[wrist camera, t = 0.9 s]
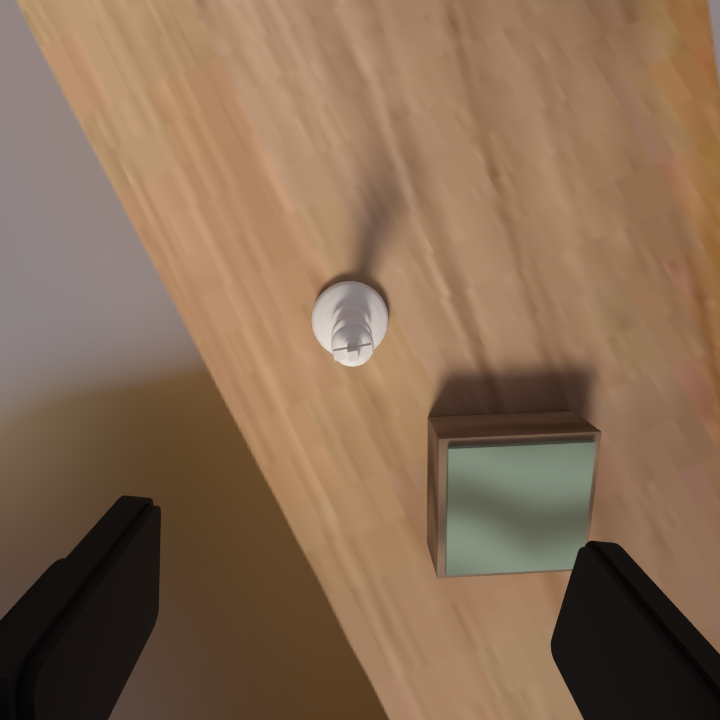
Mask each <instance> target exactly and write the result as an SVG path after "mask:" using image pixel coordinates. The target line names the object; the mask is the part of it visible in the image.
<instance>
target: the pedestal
mask: <svg viewBox="0 0 720 720" xmlns="http://www.w3.org/2000/svg"><path fill="white" fill-rule="evenodd" d="M600 438H601V431H600V430H598V429H597V428H595V427H594V426H593V425H591V424H590V423H588V422H587V421H586V420H584V419H583V418H581V417H580V416H578V415H577V414H576V413H574V412H573V411H550V412H528V413H505V414H483V415H460V416H438V417H428V490H427V544H428V548H429V551H430V555H431V558H432V562H433V565H434V569H435V572H436V576H437V578H452V577H470V576H489V575H507V574H525V573H544V572H562V571H572V570H573V566H574V563H575V560H576V557H577V553H578V551H579V549H580V548H581V547H585V545H586V543H587V542H589V537H590V528H591V519H592V510H593V501H594V492H595V483H596V474H597V465H598V456H599V447H600Z"/></svg>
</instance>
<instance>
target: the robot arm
mask: <svg viewBox="0 0 720 720" xmlns="http://www.w3.org/2000/svg"><path fill="white" fill-rule="evenodd" d="M160 525H161V509H160V507H159V506H154V505H153V501H152V499H151V498H146V497H135V496H121V497H120V498H119V499H118V500H117V501H116V502H115V503H114V505H113V506H112V507H111V508H110V509H109V510H108V511H107V512H106V514H105V515H104V516H103V517H102V518H101V519H100V520H99V521H98V523H97V524H96V525H95V526H94V527H93V528H92V529H91V530H90V532H89V533H88V534H87V535H86V536H85V537H84V538H83V539H82V541H81V542H80V543H79V544H78V545H77V546H76V547H75V548H74V549H73V551H72V552H71V553H70V554H69V555H68V556H67V557H66V558H65V559H64V558H63V559H60V560H57V561H56V562H54V563H53V564H52V565H51V566H50V567H49V568H48V569H47V570H46V571H45V572H44V573H43V574H42V576H41V577H40V578H39V579H38V580H37V581H36V582H35V583H34V585H33V586H32V587H31V588H30V589H29V590H28V591H27V592H26V593H25V594H24V595H23V596H22V597H21V598H20V600H19V601H18V602H17V603H16V604H15V605H14V606H13V607H12V608H11V609H10V610H9V612H8V613H7V614H6V615H5V616H4V617H3V618H2V619H1V620H0V720H108V718H109V716H110V714H111V712H112V710H113V708H114V706H115V704H116V702H117V700H118V698H119V696H120V694H121V692H122V690H123V688H124V686H125V684H126V682H127V680H128V678H129V676H130V674H131V672H132V670H133V668H134V666H135V664H136V662H137V660H138V658H139V656H140V654H141V652H142V650H143V648H144V646H145V644H146V642H147V640H148V638H149V636H150V634H151V632H152V630H153V628H154V626H155V623H156V619H157V616H158V610H159V574H160V573H159V572H160V527H161V526H160ZM551 652H552V656H553V659H554V661H555V663H556V665H557V667H558V669H559V671H560V673H561V675H562V677H563V679H564V681H565V683H566V685H567V687H568V689H569V691H570V693H571V695H572V697H573V699H574V701H575V703H576V705H577V707H578V709H579V711H580V713H581V715H582V717H583V719H584V720H720V654H719V653H718V652H717V651H716V650H715V649H714V648H713V646H712V645H711V644H710V643H709V642H708V641H707V640H706V639H705V638H704V637H703V635H702V634H701V633H700V632H699V631H698V630H697V629H696V628H695V627H694V626H693V625H692V623H691V622H690V621H689V620H688V619H687V618H686V617H685V616H684V615H683V614H682V613H681V611H680V610H679V609H678V608H677V607H676V606H675V605H674V604H673V603H672V602H671V601H670V599H669V598H668V597H667V596H666V595H665V594H664V593H663V592H662V591H661V590H660V589H659V587H658V586H657V585H656V584H655V583H654V582H653V581H652V580H651V579H650V578H649V577H648V575H647V574H646V573H645V572H644V571H643V570H642V569H641V568H640V567H639V566H638V565H637V563H636V562H635V561H634V560H633V559H632V558H631V557H630V556H629V555H628V554H627V553H626V551H625V550H624V549H623V548H622V547H621V546H620V545H618V544H616V543H610V542H600V541H589V542H587V543H586V545H585V547H581V548H580V549H579V551H578V553H577V557H576V560H575V563H574V566H573V570H572V573H571V576H570V580H569V583H568V586H567V590H566V593H565V596H564V599H563V603H562V606H561V609H560V613H559V616H558V619H557V623H556V626H555V629H554V632H553V636H552V639H551Z"/></svg>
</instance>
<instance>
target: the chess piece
mask: <svg viewBox="0 0 720 720" xmlns="http://www.w3.org/2000/svg"><path fill="white" fill-rule="evenodd" d="M312 327H313V331H314V333H315V336H316V338H317V339H318V341H319V342H320V344H321V345H322V346H323V347H324V348H325V349H326V350H328V351H329V352H331V353H332V354H333V355H334V359H335V361H339V362H340V363H341V364H343V365H346V366H359V365H361V364H363V363H365V362H366V361H367V360H368V359H369V358H370V357H371V355H373V350H374V349H375V348H376V347H377V346H378V345H379V344H380V343H381V341H382V340H383V338H384V336H385V334H386V331H387V327H388V311H387V307H386V305H385V302H384V301H383V299H382V297H381V296H380V295H379V294H378V293H377V292H376V291H375V290H374V289H373V288H371V287H370V286H368V285H366V284H364V283H361V282H356V281H344V282H339V283H336V284H334V285H332V286H330V287H329V288H327V289H326V290H325V291H324V292H323V293H322V294H321V295H320V296H319V297H318V299H317V301H316V302H315V305H314V307H313V311H312Z"/></svg>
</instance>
